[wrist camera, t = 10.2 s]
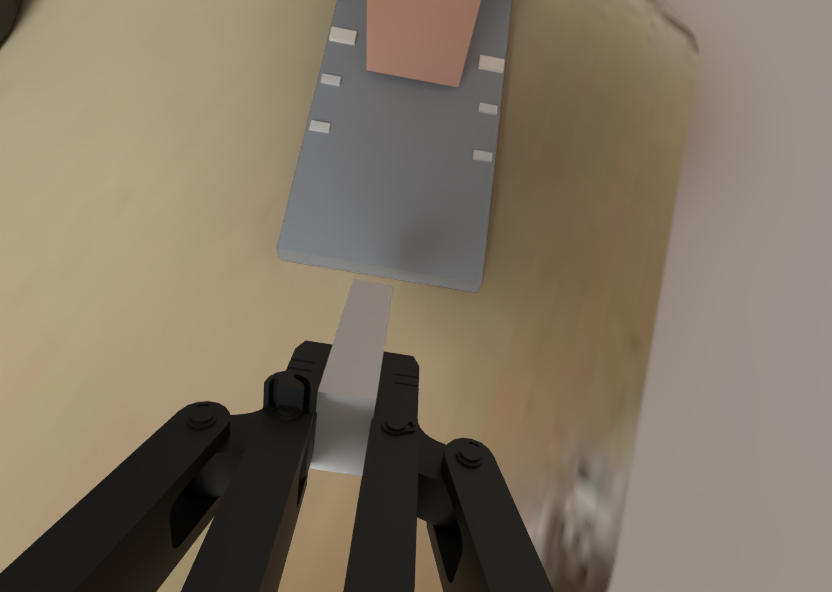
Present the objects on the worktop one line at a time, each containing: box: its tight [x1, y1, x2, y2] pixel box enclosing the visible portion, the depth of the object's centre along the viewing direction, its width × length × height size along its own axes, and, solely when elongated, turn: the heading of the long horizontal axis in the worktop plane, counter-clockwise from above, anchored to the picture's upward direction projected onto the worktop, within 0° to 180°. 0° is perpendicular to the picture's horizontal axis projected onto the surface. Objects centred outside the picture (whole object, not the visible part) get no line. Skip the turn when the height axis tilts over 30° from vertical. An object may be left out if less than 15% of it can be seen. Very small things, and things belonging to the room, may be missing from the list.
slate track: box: [277, 0, 512, 292], centre depth 25 cm, size 22×10×8 cm, turn 172°
